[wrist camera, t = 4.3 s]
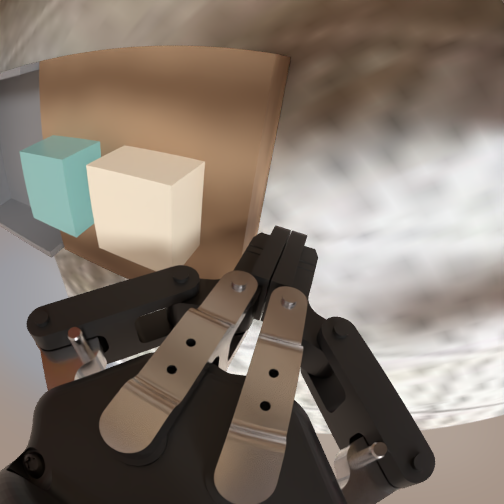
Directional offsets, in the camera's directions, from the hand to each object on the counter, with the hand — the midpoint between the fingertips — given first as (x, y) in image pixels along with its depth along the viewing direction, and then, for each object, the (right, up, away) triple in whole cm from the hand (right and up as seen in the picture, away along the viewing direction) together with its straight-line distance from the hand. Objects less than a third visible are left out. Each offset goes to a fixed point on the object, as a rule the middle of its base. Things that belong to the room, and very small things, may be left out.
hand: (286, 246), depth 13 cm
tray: (-23, +10, +7) cm, 26 cm away
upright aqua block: (-13, +5, +3) cm, 14 cm away
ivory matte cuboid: (-7, +3, +2) cm, 7 cm away
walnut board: (-8, +5, +5) cm, 11 cm away
